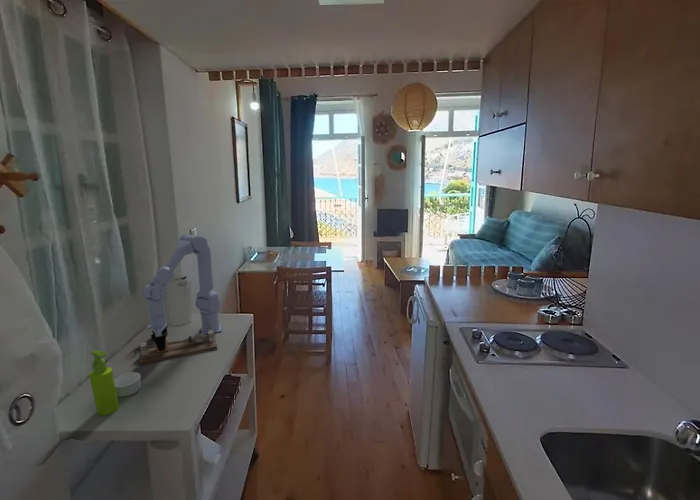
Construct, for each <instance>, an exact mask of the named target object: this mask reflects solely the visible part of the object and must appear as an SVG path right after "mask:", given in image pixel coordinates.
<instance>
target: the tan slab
mask: <svg viewBox="0 0 700 500" xmlns="http://www.w3.org/2000/svg"><path fill="white" fill-rule="evenodd" d="M147 343H148V342H145V341H144V342H141V343H140V345H139V346H140V353H141V354H140V356H139V360H138V361H139V362H138V363H139V365H140V366H141V365H142V366H143V365H147V364H151V363H157V362H161V361H166V360H170V359H175V358H180V357H186V356H189V355H190V356H191V355H196V354H200V353H205V352H209V351H215V350H218V346H217V339H216V334H215V333H213V330H209V331H208V334H205V335H202V332H200V333H195V334H194V336H193V337H192V336H191V335H190V336H188V338H183V339H178V340H177V339H176V340H173V341H168V342H167V343H168V345H169V348H168V350H167V351H162V352H157V348H156V344H151V345H148V344H147Z"/></svg>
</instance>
